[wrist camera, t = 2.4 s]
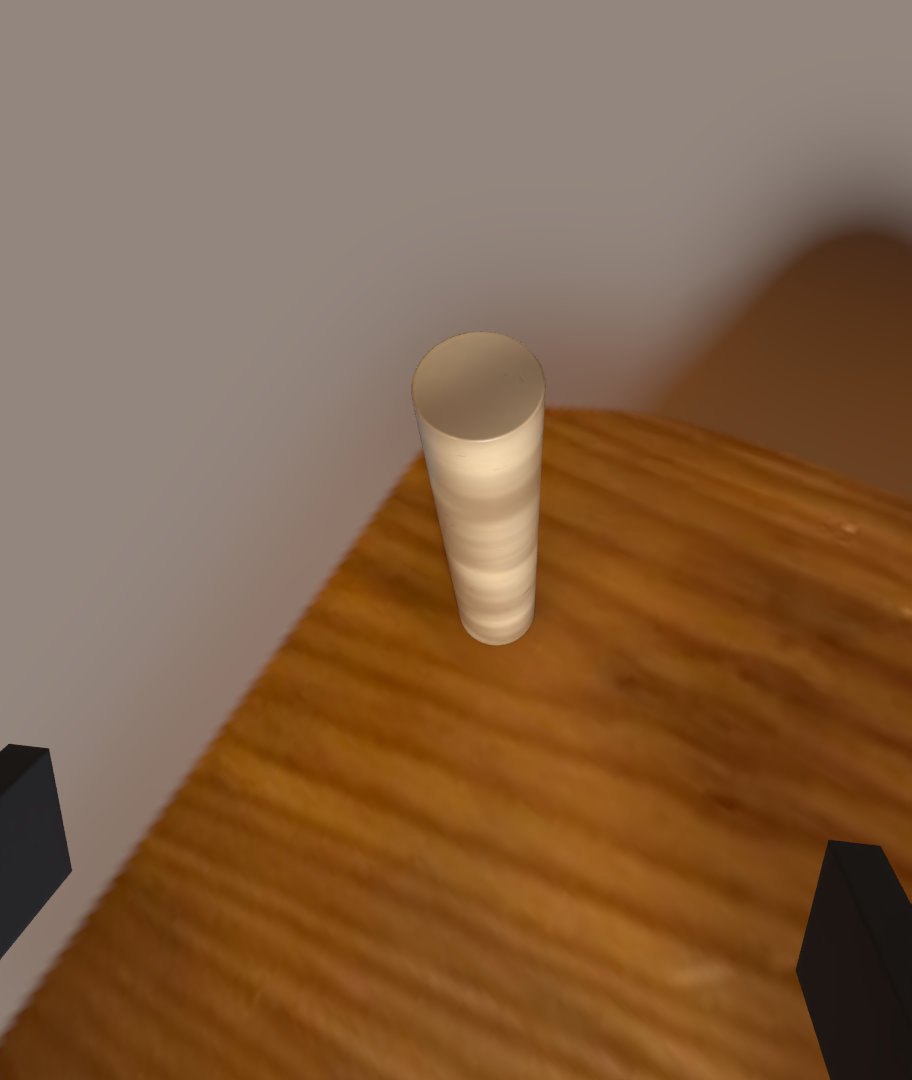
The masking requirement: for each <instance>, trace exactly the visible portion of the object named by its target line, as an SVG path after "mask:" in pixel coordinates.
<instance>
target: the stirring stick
mask: <svg viewBox="0 0 912 1080" xmlns="http://www.w3.org/2000/svg"><path fill="white" fill-rule="evenodd" d="M545 387H546V386H545V376H544V372H543V369H542V367H541V365H540V363H539V361H538V359H537V358H536V357H535V355H534V354H533V353H532V352H531V351H530V350H529V349H528V348H527V347H526V346H525V345H523V344H522V343H521V342H519V341H517V340H515V339H513V338H511V337H508V336H506V335H502V334H499V333H493V332H483V331H482V332H481V331H480V332H469V333H463V334H459V335H456V336H453V337H451V338H449V339H447V340H444V341H442V342H441V343H439V344H438V345H436V346H435V347H434V348H432V349H431V350H430V351H429V352H428V353H427V354H426V355H425V356H424V357H423V359H422V360H421V361H420V363H419V365H418V367H417V368H416V370H415V373H414V376H413V380H412V385H411V394H412V401H413V406H414V410H415V415H416V419H417V424H418V428H419V433H420V437H421V442H422V447H423V451H424V456H425V460H426V465H427V469H428V474H429V478H430V483H431V488H432V492H433V497H434V501H435V506H436V510H437V515H438V519H439V524H440V528H441V533H442V538H443V542H444V547H445V551H446V556H447V560H448V565H449V569H450V574H451V578H452V583H453V588H454V592H455V597H456V601H457V606H458V610H459V615H460V619H461V622H462V624H463V626H464V628H465V630H466V631H467V632H468V633H469V634H470V635H471V636H472V637H473V638H475V639H476V640H478V641H480V642H482V643H485V644H489V645H504V644H508V643H511V642H513V641H515V640H517V639H519V638H520V637H521V636H523V635H524V634H525V633H526V631H527V630H528V629H529V627H530V625H531V623H532V621H533V617H534V608H535V588H536V568H537V548H538V528H539V508H540V488H541V468H542V448H543V428H544V408H545Z"/></svg>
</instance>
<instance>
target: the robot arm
mask: <svg viewBox="0 0 912 1080" xmlns="http://www.w3.org/2000/svg"><path fill="white" fill-rule="evenodd" d="M71 871H72V868H71V863H70V857H69V852H68V847H67V841H66V837H65V831H64V826H63V820H62V815H61V810H60V805H59V799H58V794H57V788H56V783H55V778H54V773H53V767H52V762H51V757H50V752H49V749H48V748H40V747H31V746H23V745H14V744H8V745H7V746H6V747H5V748H4V749H3V750H1V751H0V959H1V958H2V956H3V955H4V954H5V953H6V952H7V951H8V949H9V948H10V947H11V946H12V944H13V943H14V942H15V941H16V939H17V938H18V937H19V936H20V935H21V933H22V932H23V931H24V930H25V928H26V927H27V926H28V924H29V923H30V922H31V921H32V920H33V918H34V917H35V916H36V915H37V913H38V912H39V911H40V910H41V909H42V907H43V906H44V905H45V904H46V902H47V901H48V900H49V899H50V897H51V896H52V895H53V894H54V893H55V891H56V890H57V889H58V888H59V886H60V885H61V884H62V883H63V881H64V880H65V879H66V878H67V877H68V875H69V874H70V873H71ZM796 973H797V976H798V979H799V982H800V985H801V988H802V992H803V995H804V998H805V1001H806V1004H807V1007H808V1011H809V1014H810V1017H811V1020H812V1023H813V1026H814V1030H815V1033H816V1036H817V1039H818V1042H819V1045H820V1049H821V1052H822V1055H823V1058H824V1061H825V1064H826V1067H827V1071H828V1074H829V1077H830V1080H912V905H911V903H910V901H909V899H908V897H907V895H906V893H905V892H904V890H903V888H902V886H901V884H900V882H899V880H898V878H897V876H896V875H895V873H894V871H893V869H892V867H891V865H890V863H889V861H888V859H887V857H886V856H885V854H884V852H883V850H882V848H881V846H877V845H868V844H860V843H851V842H843V841H834V840H828V844H827V848H826V852H825V856H824V860H823V864H822V868H821V872H820V876H819V880H818V884H817V888H816V892H815V896H814V900H813V904H812V908H811V912H810V916H809V919H808V923H807V927H806V931H805V935H804V939H803V943H802V947H801V951H800V955H799V959H798V963H797V967H796Z"/></svg>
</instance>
